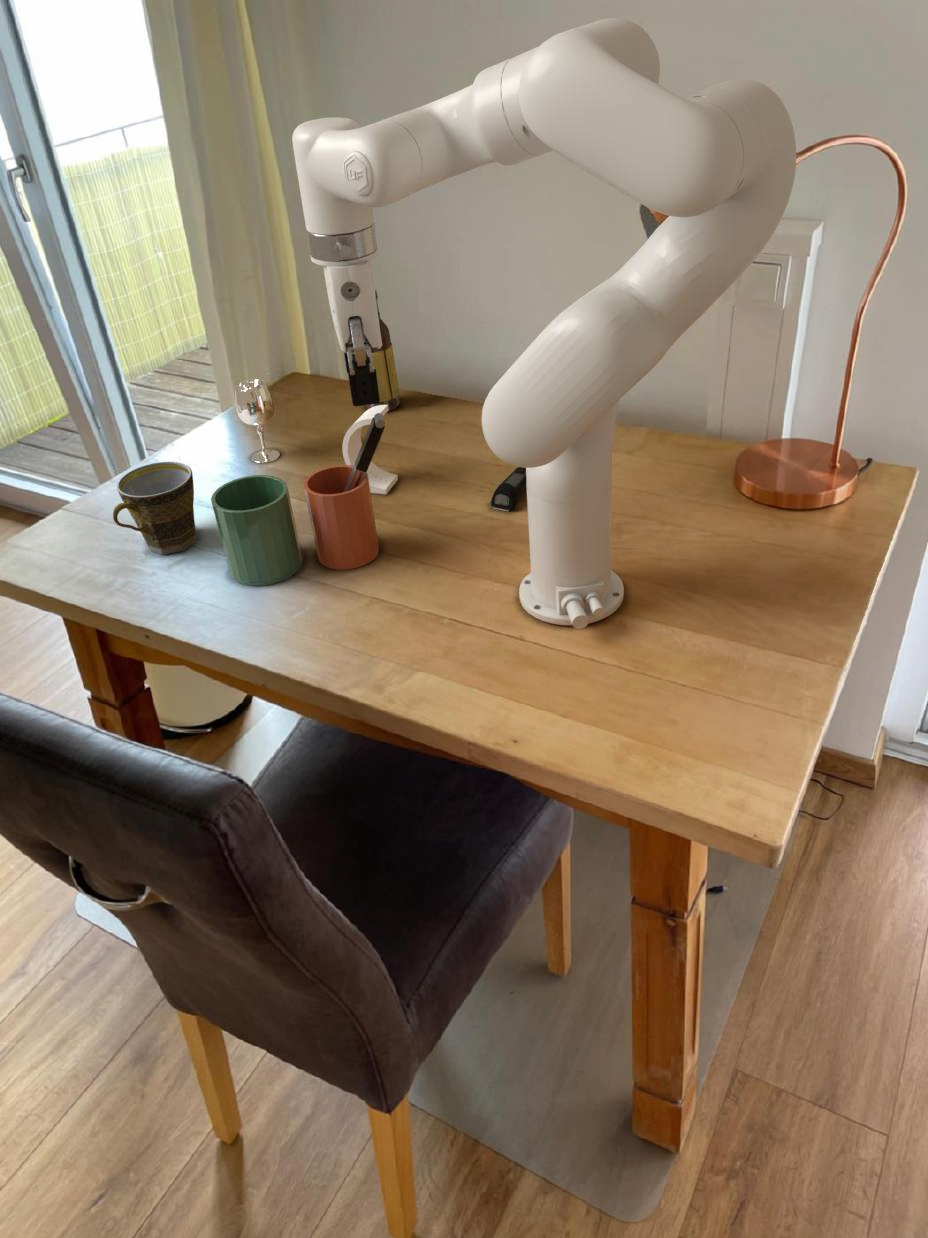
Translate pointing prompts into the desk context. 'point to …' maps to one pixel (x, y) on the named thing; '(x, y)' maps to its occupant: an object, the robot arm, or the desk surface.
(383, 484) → the headphone stand
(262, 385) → the wineglass
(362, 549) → the terracotta cup
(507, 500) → the electric trimmer
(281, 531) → the green cup
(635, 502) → the desk surface
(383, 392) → the sauce bottle
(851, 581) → the desk surface
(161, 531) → the ceramic cup
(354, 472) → the tongs
